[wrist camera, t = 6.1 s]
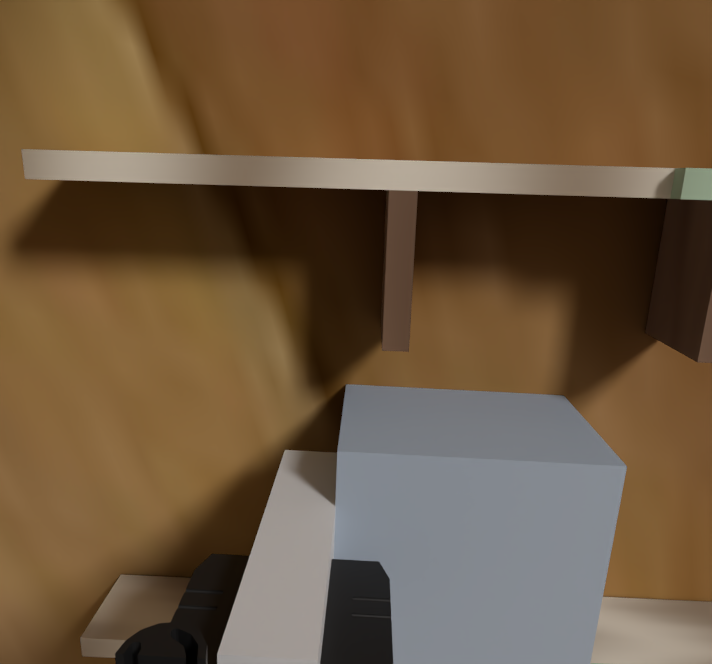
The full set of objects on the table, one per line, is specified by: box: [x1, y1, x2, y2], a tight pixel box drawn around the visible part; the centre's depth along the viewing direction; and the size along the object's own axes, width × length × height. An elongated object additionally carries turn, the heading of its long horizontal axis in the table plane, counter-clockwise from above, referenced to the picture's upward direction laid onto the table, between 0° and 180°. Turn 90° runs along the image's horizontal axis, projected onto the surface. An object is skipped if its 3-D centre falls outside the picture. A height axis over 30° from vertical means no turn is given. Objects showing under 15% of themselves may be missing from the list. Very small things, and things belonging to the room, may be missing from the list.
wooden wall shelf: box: [21, 149, 712, 664], centre depth 14 cm, size 22×13×3 cm, turn 88°
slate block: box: [334, 384, 627, 664], centre depth 14 cm, size 6×6×4 cm
